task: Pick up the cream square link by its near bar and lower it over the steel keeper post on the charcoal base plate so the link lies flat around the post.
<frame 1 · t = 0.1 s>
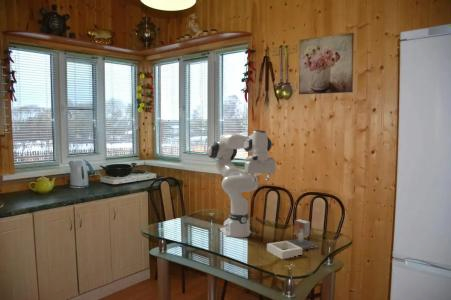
hand: (260, 181, 201), 39 cm above the table, tool pointing down, fingers open, 8 cm apart
small box: (301, 237, 224), on the table
keeper plate: (300, 245, 206), on the table
link: (284, 252, 193), on the table
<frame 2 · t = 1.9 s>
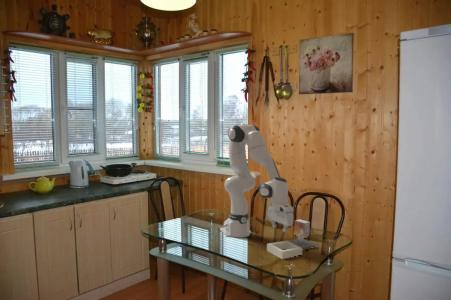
hand: (279, 229, 197), 12 cm above the table, tool pointing down, fingers open, 8 cm apart
nothing on the table moved.
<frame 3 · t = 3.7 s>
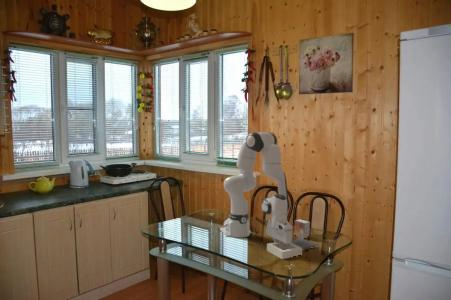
hand: (277, 246, 198), 2 cm above the table, tool pointing down, fingers closed on link, 2 cm apart
link: (284, 252, 193), on the table, touching gripper
everything else where it was.
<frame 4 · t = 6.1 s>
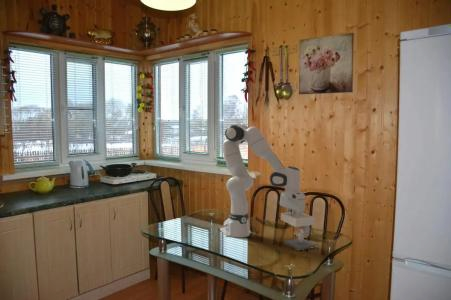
hand: (291, 216, 207), 17 cm above the table, tool pointing down, fingers closed on link, 2 cm apart
link: (297, 222, 202), point 15 cm above the table, touching gripper
everything else where it was.
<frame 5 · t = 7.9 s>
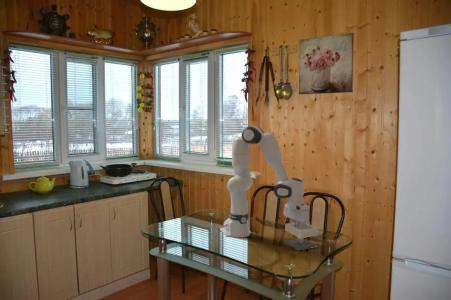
hand: (295, 226, 211), 10 cm above the table, tool pointing down, fingers closed on link, 2 cm apart
link: (301, 232, 206), point 8 cm above the table, touching gripper
everything else where it was.
when the fingers open (6 cm above the table, at t = 8.9 s): link drops 3 cm, resting on keeper plate.
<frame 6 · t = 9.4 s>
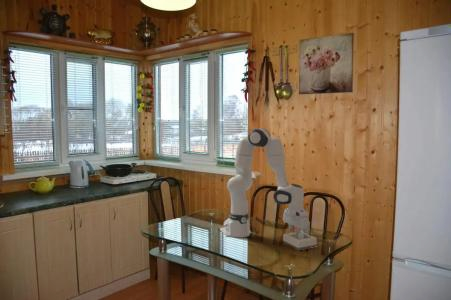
hand: (294, 232, 211), 6 cm above the table, tool pointing down, fingers open, 5 cm apart
link: (299, 242, 207), point 1 cm above the table, touching keeper plate
everything else where it was.
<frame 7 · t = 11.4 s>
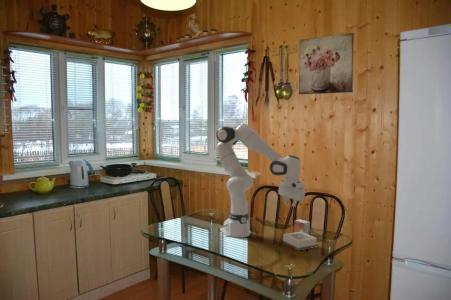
hand: (290, 205, 207), 24 cm above the table, tool pointing down, fingers open, 5 cm apart
nothing on the table moved.
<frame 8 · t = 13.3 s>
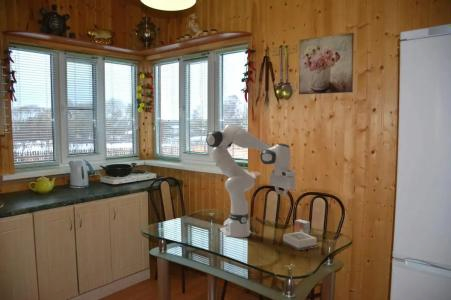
hand: (281, 195, 200), 31 cm above the table, tool pointing down, fingers open, 5 cm apart
nothing on the table moved.
at the end: link 0.9 cm off-centre on the keeper plate, point 1.5 cm above the keeper plate's base; link tilted 0°; the gripper is holding nothing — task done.
